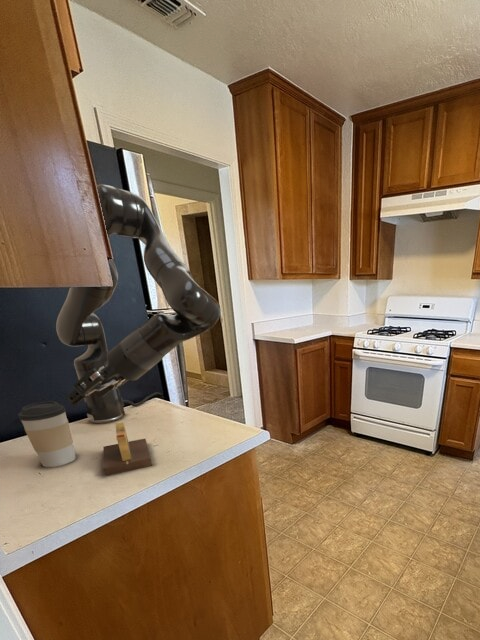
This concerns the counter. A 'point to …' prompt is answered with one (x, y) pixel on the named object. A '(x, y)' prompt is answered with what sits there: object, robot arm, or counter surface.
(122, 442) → the wooden toy block
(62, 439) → the coffee cup
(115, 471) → the brown square board
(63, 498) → the counter surface
